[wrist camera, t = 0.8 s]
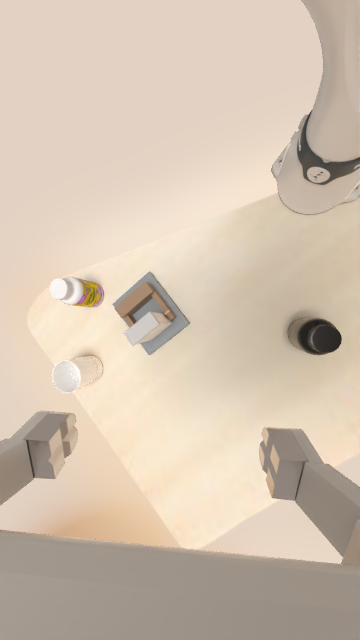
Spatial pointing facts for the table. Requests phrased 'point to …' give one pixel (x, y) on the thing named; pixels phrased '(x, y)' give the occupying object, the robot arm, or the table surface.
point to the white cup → (76, 373)
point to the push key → (147, 328)
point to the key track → (150, 309)
